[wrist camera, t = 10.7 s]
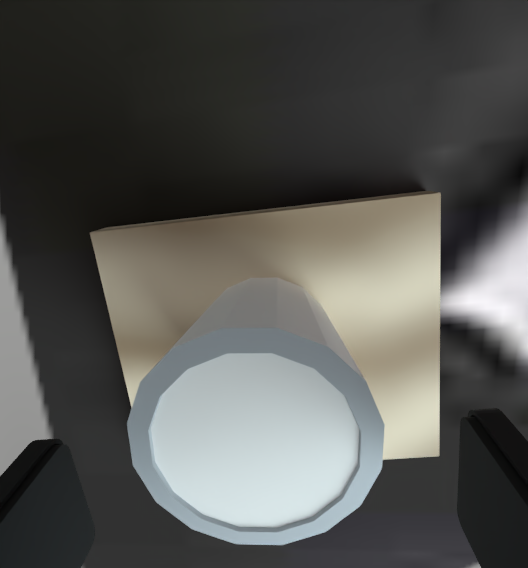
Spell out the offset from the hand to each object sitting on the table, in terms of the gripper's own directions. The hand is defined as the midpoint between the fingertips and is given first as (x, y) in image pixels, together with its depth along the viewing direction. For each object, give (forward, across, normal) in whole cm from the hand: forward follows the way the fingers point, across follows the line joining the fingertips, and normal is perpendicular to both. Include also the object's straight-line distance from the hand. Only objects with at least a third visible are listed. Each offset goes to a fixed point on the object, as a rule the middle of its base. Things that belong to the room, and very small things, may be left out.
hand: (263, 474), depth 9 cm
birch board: (+9, 0, +1) cm, 9 cm away
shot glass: (+8, 0, 0) cm, 8 cm away
